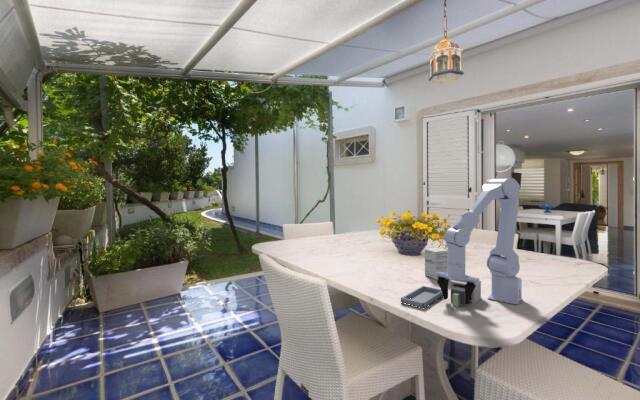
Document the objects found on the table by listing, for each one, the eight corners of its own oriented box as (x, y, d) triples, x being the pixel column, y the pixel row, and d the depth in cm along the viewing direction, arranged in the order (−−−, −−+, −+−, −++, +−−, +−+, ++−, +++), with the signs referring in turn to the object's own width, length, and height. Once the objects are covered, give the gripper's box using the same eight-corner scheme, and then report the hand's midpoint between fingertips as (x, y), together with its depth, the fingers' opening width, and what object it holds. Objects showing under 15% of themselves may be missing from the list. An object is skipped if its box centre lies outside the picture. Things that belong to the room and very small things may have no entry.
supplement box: (424, 275, 153) (424, 248, 152) (437, 273, 155) (437, 247, 154) (435, 280, 146) (435, 251, 145) (448, 278, 148) (448, 250, 148)
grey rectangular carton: (461, 307, 114) (461, 293, 113) (448, 304, 117) (448, 290, 117) (472, 299, 121) (472, 286, 121) (459, 296, 124) (459, 283, 124)
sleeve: (474, 303, 118) (474, 285, 117) (450, 298, 123) (450, 281, 123) (480, 297, 123) (480, 281, 122) (457, 293, 128) (457, 277, 128)
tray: (444, 295, 126) (444, 290, 126) (423, 309, 113) (423, 303, 113) (422, 290, 132) (422, 285, 132) (400, 303, 119) (400, 297, 119)
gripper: (431, 262, 117) (431, 299, 118) (474, 268, 108) (474, 309, 108) (439, 258, 122) (439, 294, 123) (481, 264, 113) (481, 303, 113)
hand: (456, 301), depth 116 cm, fingers open, 7 cm apart
